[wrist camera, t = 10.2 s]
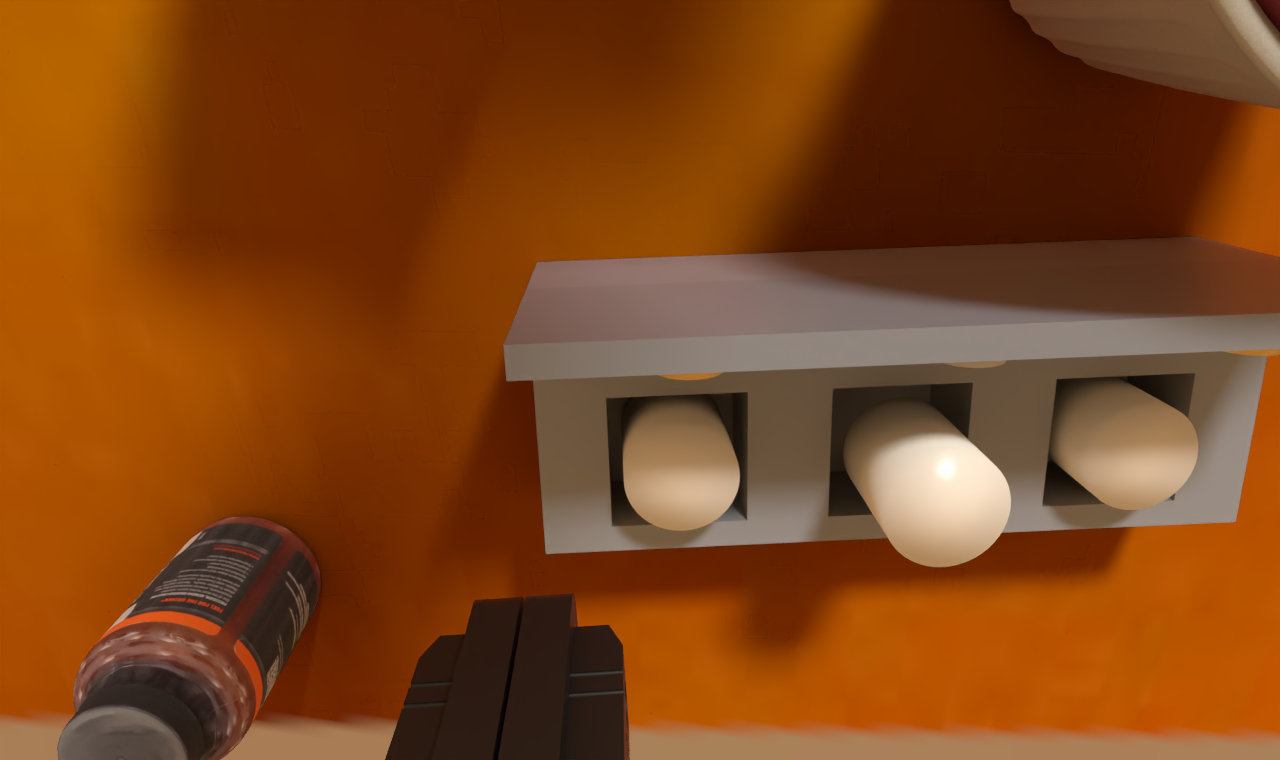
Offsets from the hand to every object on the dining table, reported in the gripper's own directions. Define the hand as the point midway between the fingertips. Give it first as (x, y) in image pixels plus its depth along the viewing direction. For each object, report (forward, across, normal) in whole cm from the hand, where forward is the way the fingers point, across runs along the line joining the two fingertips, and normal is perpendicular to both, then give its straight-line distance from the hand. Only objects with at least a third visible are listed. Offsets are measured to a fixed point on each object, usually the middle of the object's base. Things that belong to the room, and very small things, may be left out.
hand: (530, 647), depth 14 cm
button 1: (+21, -3, +5) cm, 22 cm away
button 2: (+21, -19, +6) cm, 29 cm away
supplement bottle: (+23, +15, +11) cm, 30 cm away
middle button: (+18, -11, +5) cm, 22 cm away
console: (+23, -11, +4) cm, 26 cm away
